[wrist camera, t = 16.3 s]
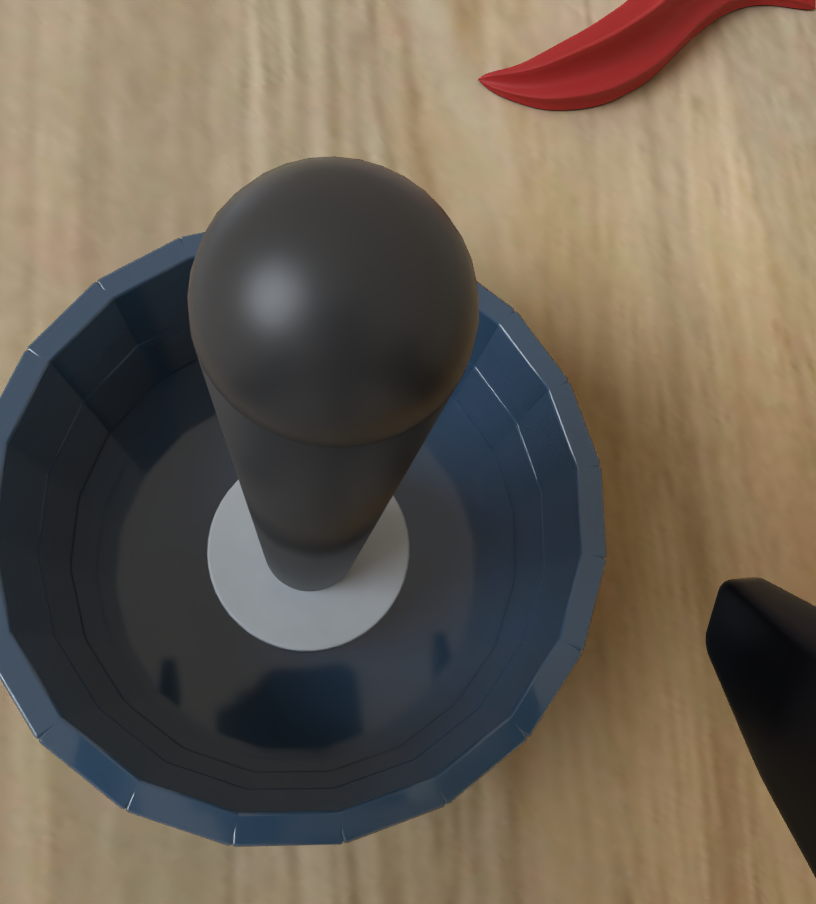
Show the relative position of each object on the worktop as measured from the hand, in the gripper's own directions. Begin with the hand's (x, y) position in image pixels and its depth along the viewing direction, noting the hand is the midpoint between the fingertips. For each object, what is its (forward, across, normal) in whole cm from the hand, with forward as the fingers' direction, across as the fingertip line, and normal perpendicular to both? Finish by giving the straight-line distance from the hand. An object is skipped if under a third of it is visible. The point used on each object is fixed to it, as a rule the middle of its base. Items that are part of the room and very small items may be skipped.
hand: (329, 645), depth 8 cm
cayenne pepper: (+19, -12, -6) cm, 23 cm away
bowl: (+9, 0, +5) cm, 10 cm away
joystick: (+8, 0, +5) cm, 9 cm away
